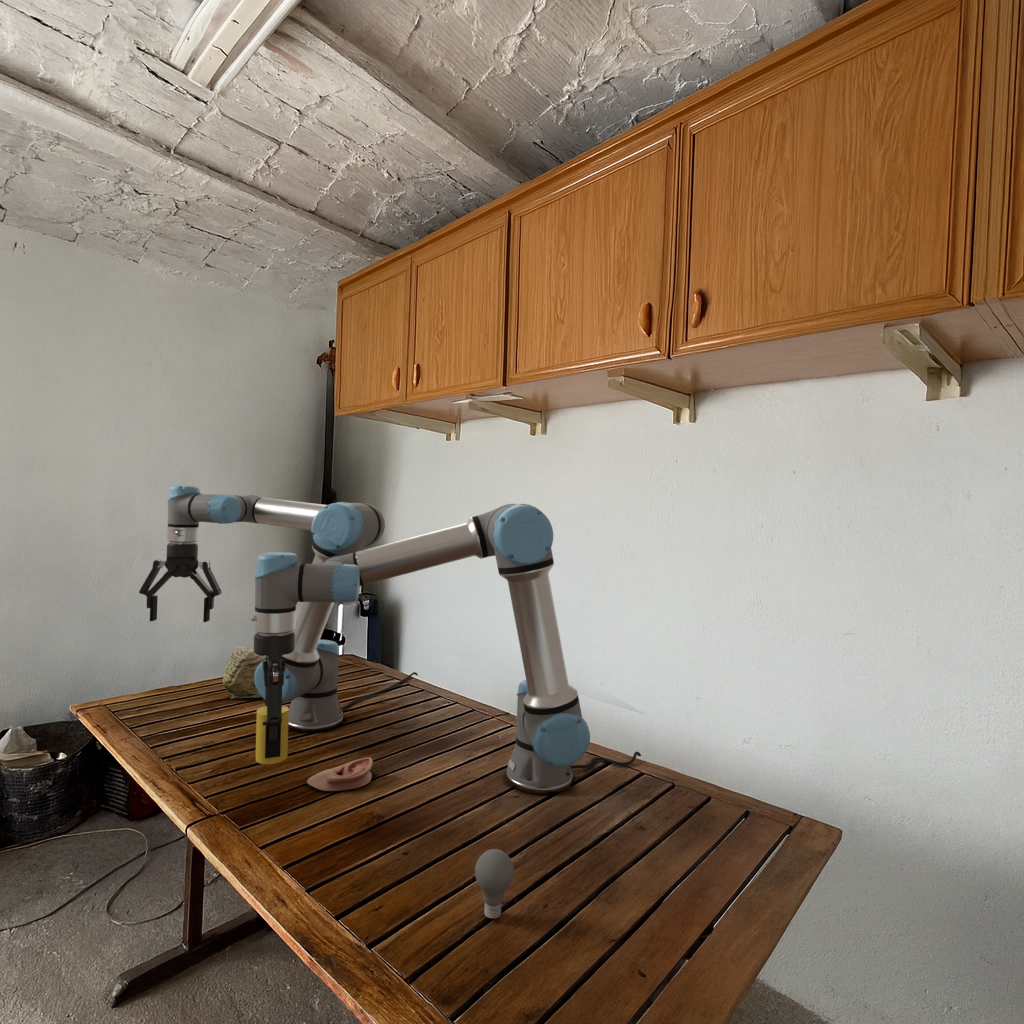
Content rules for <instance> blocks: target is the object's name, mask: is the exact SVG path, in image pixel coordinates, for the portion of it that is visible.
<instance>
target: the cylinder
mask: <svg viewBox="0 0 1024 1024" xmlns="http://www.w3.org/2000/svg"><path fill="white" fill-rule="evenodd" d="M288 717H289V706H286V705H284V704H282V716H281V718H282V723H281V747H280V757H273V758H265V734H266V725H263V722H266V720H267V706H265V705H264V706H261V707H259V708H258V709H257V710H256V718H255V719H256V720H255V721H256V722H255V724H256V726H255V762H256V763H257V764H261V765H275V764H280V763H283V762H284V761H286V759H288V756H289V755H288V751H289V749H288V748H289V728H288Z"/></svg>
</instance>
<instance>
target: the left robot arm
mask: <svg viewBox="0 0 1024 1024" xmlns="http://www.w3.org/2000/svg"><path fill="white" fill-rule="evenodd" d="M385 522H386V521H385V517H384V515H383V513H382V512H381V511H380V509H379V508H378V507H376V506H375V505H373V504H370V503H366V502H347V501H337V502H334V503H330V504H320V503H313V502H305V501H296V500H288V499H279V498H272V497H271V498H270V497H262V496H260V495H259V496H258V495H254V494H253V495H252V494H250V495H238V494H237V495H236V494H203V493H201V489H200V487H199V486H192V485H191V486H189V485H172V486H170V487H169V490H168V499H167V532H166V533H167V534H166V537H167V538H166V540H167V542H169V543H167V544H166V559H165V560H162V559H155V560H153V562H152V568H151V570H150V571H149V574H148V575H147V577H146V578H145V580H144V582H143V583H142V585H141V587H140V589H139V591H138V593H139V594H140V595H144V596H146V609H149V622H154V621H156V620H158V601H159V600H158V596H159V595H156V594H157V592H158V591H159V590H160V589H161V588H162V587H163V586H164V585H165V584H166V583H167V582H168V581H170V579H171V578H172V577H173V578H190V579H191V580H192V581H193V582H195V584H196V586H197V587H198V588H199V589H200V590H201V591H202V593H204V595H205V596H206V597H204V598H203V618H202V619H203V620H202V621H203V623H207V622H210V619H211V616H210V615H211V610H213V609H214V607H215V597H217V596H219V595H221V594H223V593H222V589H221V587H220V585H219V583H218V581H217V579H216V577H215V575H214V573H213V571H212V568H211V562H210V560H205V561H199V560H198V559H199V558H198V556H199V545H198V543H197V542H199V531H200V530H199V527H200V523H209V524H210V523H211V524H213V523H214V524H219V525H222V524H225V525H227V524H233V523H251V524H259V525H260V524H261V525H267V526H275V527H281V528H282V527H283V528H290V529H296V530H304V531H310V533H311V534H312V539H313V543H312V545H311V548H312V550H313V553H314V558H313V560H312V562H311V564H322V563H323V562H324V561H325V560H327V559H328V558H330V557H334V556H342V555H346V554H350V553H355V552H358V551H361V550H363V548H367V547H370V546H372V545H374V544H376V543H378V541H379V540H380V539H381V538H382V536H383V534H384V532H385V530H386V529H385V528H386V523H385ZM164 567H165V568H166V572H165V573H164V574H163V575H162V576H161V577H160V579H159V580H157V582H156V583H155V584H154V585H153V583H154V581H155V579H156V578H157V576H158V575H159V573H160V570H161V569H162V568H164ZM199 567H200V569H201V570H202V571H203V574H204V576H205V577H206V580H207V582H205V580H204V579H203V578H202V577H201V575H200V573H199V572H198V571H197V569H198V568H199ZM207 583H209V585H208V584H207ZM152 585H153V586H152ZM151 586H152V587H151ZM334 604H335V602H296V629H295V630H294V631H292V632H294V633H295V650H294V651H293V652H292V653H290V654H284V655H282V656H281V660H284V663H285V672H284V685H283V686H282V705H284V704H286V703H289V702H290V704H289V706H288V708H289V717H288V730H291V731H294V732H295V731H296V732H301V733H316V732H325V731H329V730H332V729H335V728H337V727H339V726H340V725H342V723H343V722H344V714H343V710H344V709H347V708H349V707H350V706H351V705H353V704H354V703H356V702H359V701H362V700H364V699H367V698H370V697H373V696H375V695H379V694H381V693H384V692H386V691H389V690H391V689H393V688H396V686H398V685H401V684H402V683H403V682H405V681H406V680H408V679H409V678H411V677H413V676H414V675H415V676H419V674H418V672H416V671H414V672H411V673H410V674H409V675H407V676H405V677H404V678H403V679H401V680H400V681H398V682H396V683H394V684H392V685H390V686H388V687H385V688H383V689H381V690H378V691H374V692H372V693H370V694H366V695H363V696H361V697H358V698H356V699H353V700H351V701H350V702H348V703H346V704H345V705H343V706H341V702H340V699H339V695H338V682H339V662H340V661H339V660H340V652H339V648H340V646H339V644H338V643H337V641H334V640H328V639H321V638H322V635H323V632H324V630H325V627H326V624H327V622H328V620H329V617H330V615H331V612H332V609H333V607H334ZM265 661H266V660H265ZM254 681H255V686H256V687H257V689H258V692H259V694H260V695H261V696H262V697H261V698H262V699H263V700H265V689H266V687H265V681H264V672H263V662H262V663H261V664H260V665H259V666H258V667H257V669H256V671H255V676H254Z"/></svg>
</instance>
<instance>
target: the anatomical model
mask: <svg viewBox="0 0 1024 1024" xmlns="http://www.w3.org/2000/svg"><path fill="white" fill-rule="evenodd" d="M373 763H374V761H373V758H372V757H370V756H368V757H362V758H359V759H356V760H352V761H350V762H346V763H344V764H341V765H339V766H336V767H332V768H328V769H325V770H322V771H319V772H317V773H315V774H314V775H311V777H309V778H308V779H306V784H308V786H311V787H313V788H314V789H317V790H319V791H322V792H338V791H348V790H353V789H357V788H360V787H364V786H366V785H367V784H369V783H370V782H371V780H372V779H373V774H372V772H371V770H372V767H373Z"/></svg>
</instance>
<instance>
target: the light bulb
mask: <svg viewBox="0 0 1024 1024" xmlns="http://www.w3.org/2000/svg"><path fill="white" fill-rule="evenodd" d="M514 874H515V867H514V863H513V861H512V859H511V857H510V856H509V855H508V854H507V853H506V852H505V851H503V850H501V849H498V848H491V849H487V850H486V851H484V852H483V853H482V854H481V855H480V856H479V857H478V859H477V861H476V863H475V867H474V876H475V880H476V882H477V884H478V886H479V888H480V890H481V893H482V899H483V901H484V910H483V911H484V912H483V914H484V916H485V917H487V918H489V919H498V918H499V917H501V914H502V903H503V901H504V898H505V893H506V891H507V890H508V888H509V887H510V885H511V883H512V882H513V879H514V876H515V875H514Z"/></svg>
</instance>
